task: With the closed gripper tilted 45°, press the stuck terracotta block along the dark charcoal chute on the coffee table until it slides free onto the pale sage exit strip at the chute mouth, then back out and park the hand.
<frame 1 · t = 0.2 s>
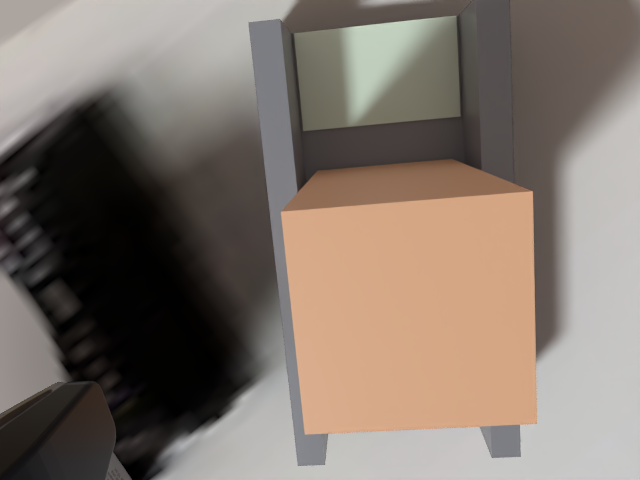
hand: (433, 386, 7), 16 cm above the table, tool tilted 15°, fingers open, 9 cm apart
charcoal chute: (387, 230, 23), on the table
coffee box: (27, 469, 26), on the table
terracotta block: (396, 262, 17), point 6 cm above the table, slide at 0.0 cm
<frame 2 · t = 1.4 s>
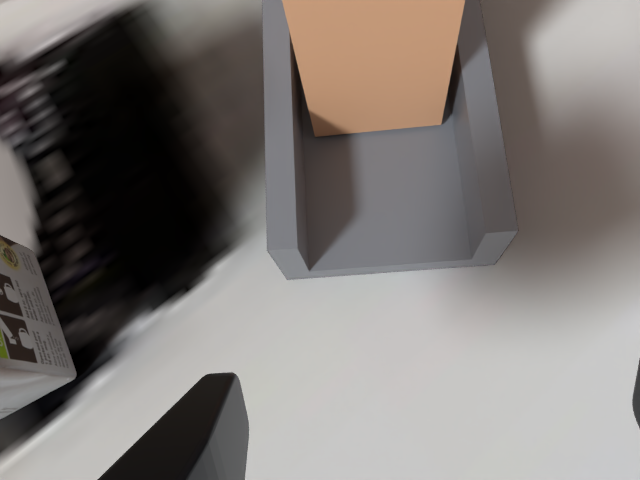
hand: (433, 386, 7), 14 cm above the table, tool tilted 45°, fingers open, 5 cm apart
charcoal chute: (373, 98, 24), on the table
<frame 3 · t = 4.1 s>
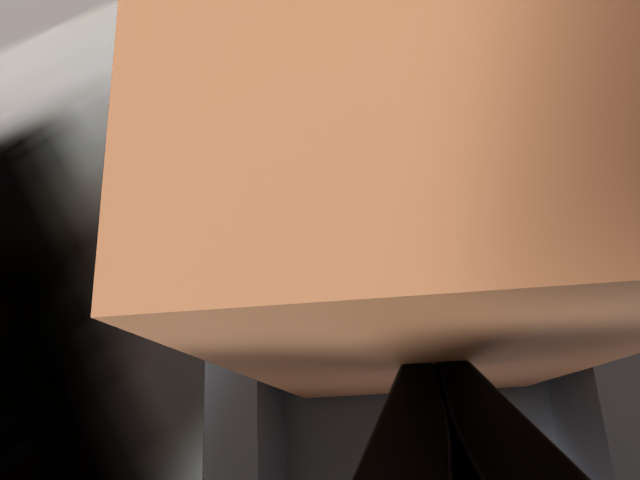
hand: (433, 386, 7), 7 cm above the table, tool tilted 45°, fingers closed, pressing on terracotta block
charcoal chute: (403, 307, 15), on the table
terracotta block: (413, 208, 9), point 6 cm above the table, slide at 0.1 cm, touching gripper
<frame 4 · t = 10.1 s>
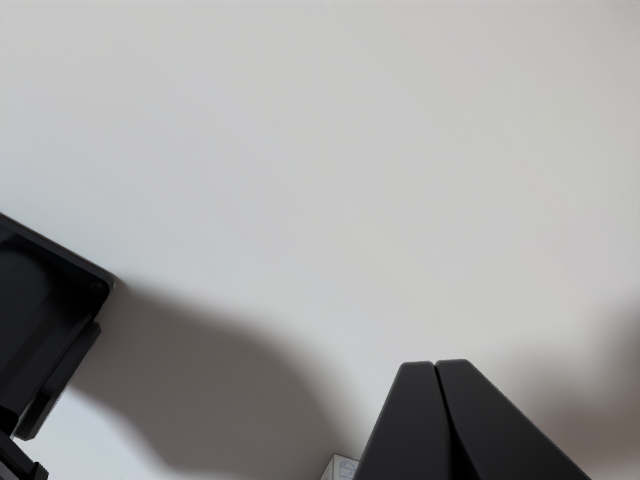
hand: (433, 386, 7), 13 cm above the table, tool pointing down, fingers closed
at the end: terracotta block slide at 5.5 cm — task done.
